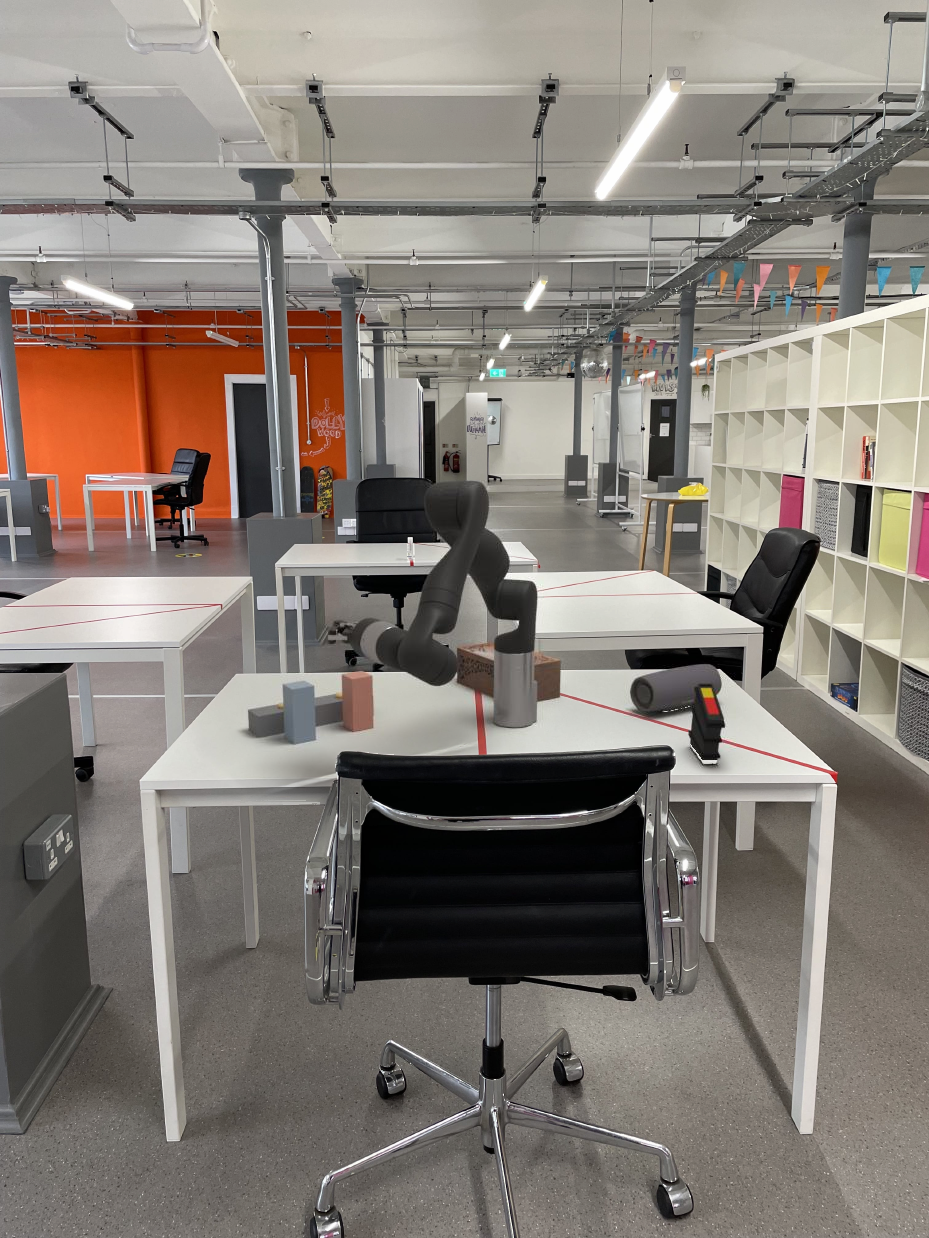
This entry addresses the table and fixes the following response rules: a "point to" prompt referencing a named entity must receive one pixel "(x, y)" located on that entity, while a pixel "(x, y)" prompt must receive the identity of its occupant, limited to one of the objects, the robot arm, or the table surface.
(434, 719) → the table surface
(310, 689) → the blue key
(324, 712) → the console
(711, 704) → the black stepped tower
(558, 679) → the tissue box cover
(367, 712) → the red key
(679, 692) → the bluetooth speaker
